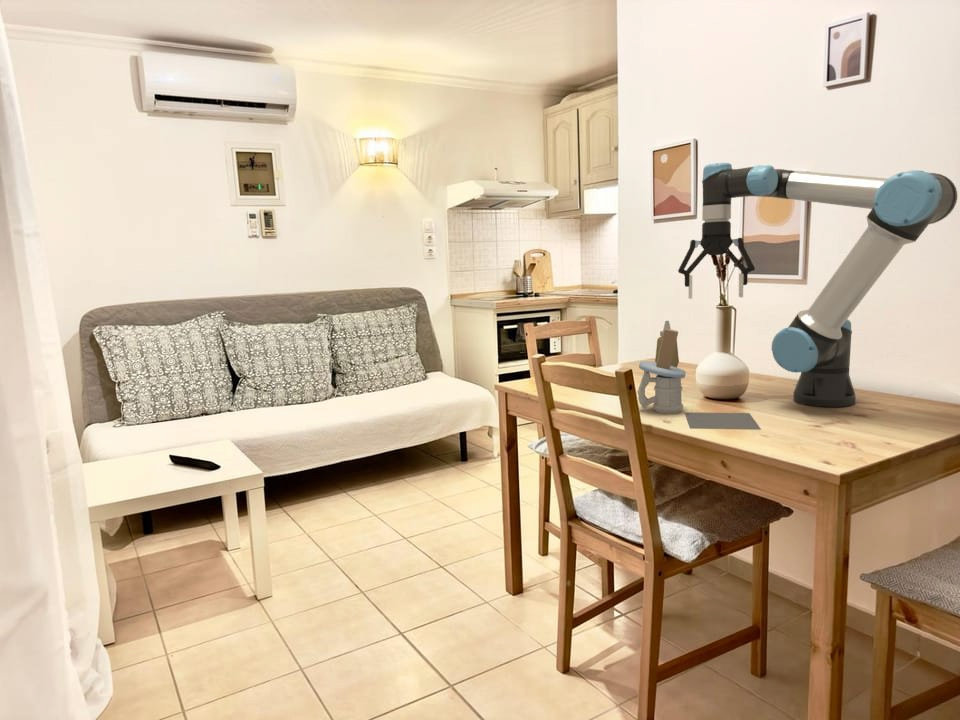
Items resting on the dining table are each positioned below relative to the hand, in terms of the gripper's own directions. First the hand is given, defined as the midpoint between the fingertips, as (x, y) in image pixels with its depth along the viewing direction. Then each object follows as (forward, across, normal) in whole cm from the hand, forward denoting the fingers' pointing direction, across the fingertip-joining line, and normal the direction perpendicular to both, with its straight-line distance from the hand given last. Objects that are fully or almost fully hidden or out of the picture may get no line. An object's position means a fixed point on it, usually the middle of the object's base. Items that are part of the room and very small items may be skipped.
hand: (715, 297), depth 191 cm
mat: (+29, +2, +30) cm, 41 cm away
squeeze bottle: (+29, +11, -40) cm, 51 cm away
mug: (+29, +16, +20) cm, 39 cm away
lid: (+18, +16, +20) cm, 31 cm away
